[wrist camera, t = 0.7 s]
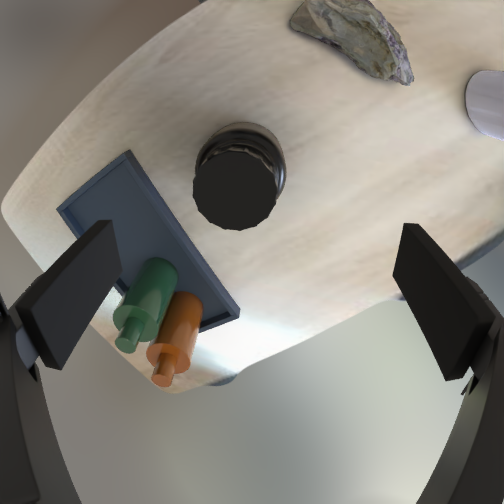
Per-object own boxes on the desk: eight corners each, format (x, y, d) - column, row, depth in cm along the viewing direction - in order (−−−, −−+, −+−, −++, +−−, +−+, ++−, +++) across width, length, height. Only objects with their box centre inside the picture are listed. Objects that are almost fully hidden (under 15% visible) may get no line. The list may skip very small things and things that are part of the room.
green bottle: (163, 250, 41) (125, 319, 29) (186, 282, 43) (160, 356, 31) (133, 267, 43) (91, 334, 30) (156, 296, 45) (125, 367, 33)
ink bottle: (197, 127, 34) (165, 146, 23) (274, 111, 32) (278, 120, 22) (217, 205, 38) (198, 254, 28) (290, 192, 37) (299, 237, 27)
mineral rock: (409, 81, 29) (453, 82, 21) (329, 108, 32) (351, 116, 23) (363, -16, 24) (394, -45, 15) (278, 9, 27) (283, -20, 18)
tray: (63, 203, 39) (55, 209, 37) (130, 149, 35) (123, 152, 33) (168, 337, 49) (165, 345, 48) (240, 309, 46) (239, 318, 44)
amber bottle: (189, 285, 44) (163, 360, 31) (211, 313, 46) (194, 389, 34) (159, 299, 45) (128, 371, 33) (181, 325, 47) (159, 398, 35)
